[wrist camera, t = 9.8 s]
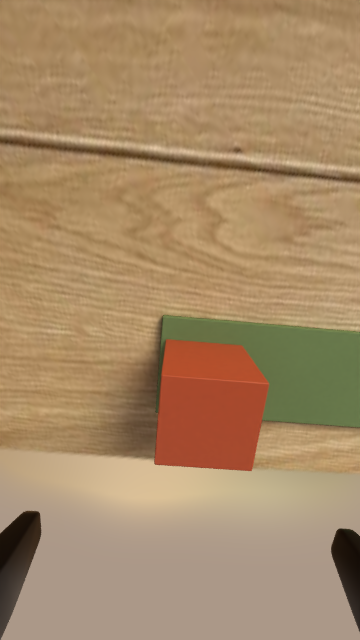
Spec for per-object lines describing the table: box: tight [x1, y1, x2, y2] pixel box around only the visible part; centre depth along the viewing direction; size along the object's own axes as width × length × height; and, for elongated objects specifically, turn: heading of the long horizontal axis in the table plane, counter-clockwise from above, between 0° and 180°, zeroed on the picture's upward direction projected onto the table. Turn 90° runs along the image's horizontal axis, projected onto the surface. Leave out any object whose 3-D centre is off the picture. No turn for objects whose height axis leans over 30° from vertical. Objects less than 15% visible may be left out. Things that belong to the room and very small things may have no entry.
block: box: [154, 339, 269, 471], centre depth 14 cm, size 5×5×5 cm
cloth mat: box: [156, 315, 360, 427], centre depth 17 cm, size 19×7×1 cm, turn 85°
